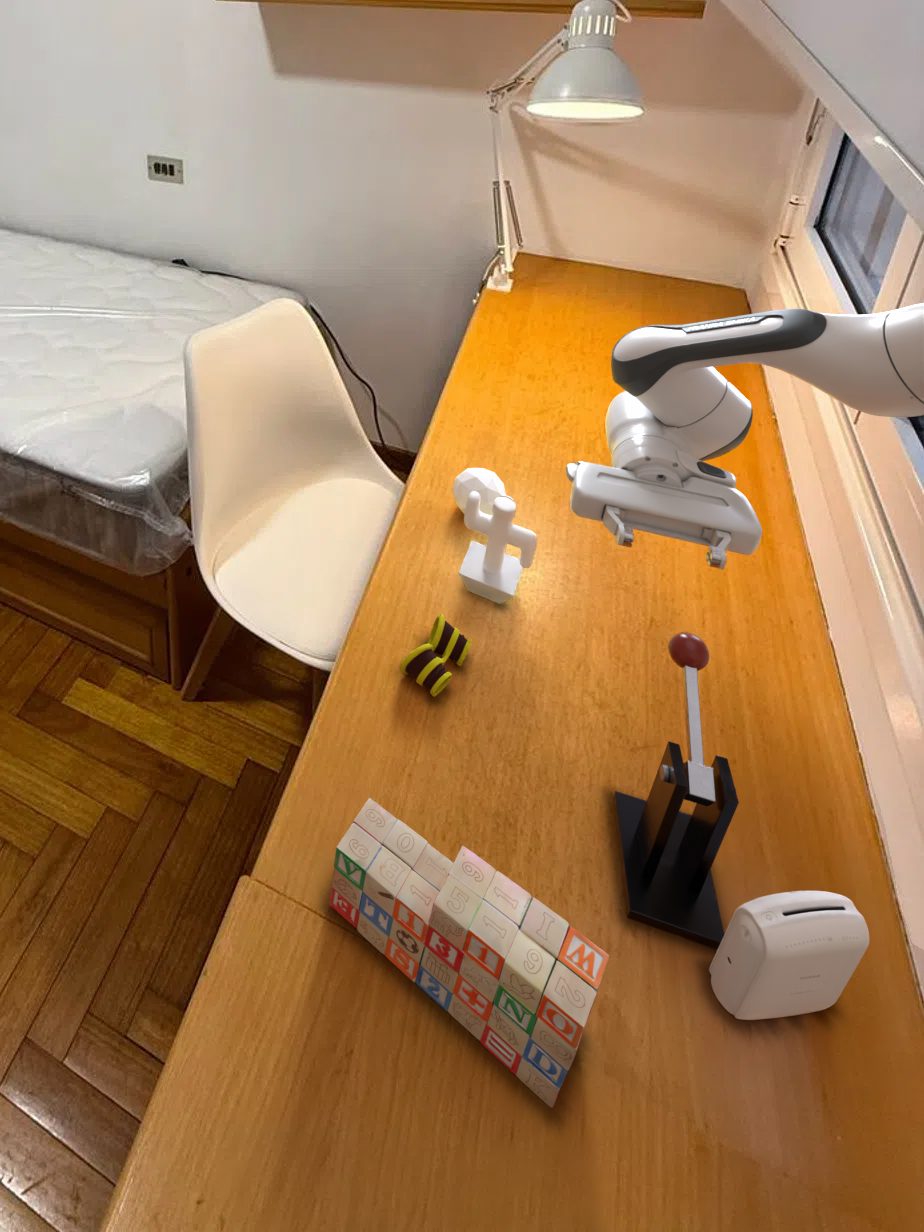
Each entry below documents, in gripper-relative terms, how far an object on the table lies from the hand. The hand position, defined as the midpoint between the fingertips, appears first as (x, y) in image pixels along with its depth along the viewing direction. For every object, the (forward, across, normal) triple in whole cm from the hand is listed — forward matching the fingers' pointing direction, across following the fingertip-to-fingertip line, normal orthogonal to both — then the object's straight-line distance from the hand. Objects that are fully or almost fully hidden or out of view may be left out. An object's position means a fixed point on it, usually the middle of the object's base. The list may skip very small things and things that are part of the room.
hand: (671, 552), depth 96 cm
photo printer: (+31, +7, +20) cm, 38 cm away
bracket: (+23, 0, +20) cm, 31 cm away
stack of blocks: (+40, -20, +20) cm, 49 cm away
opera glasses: (+7, -23, +20) cm, 31 cm away
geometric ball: (-24, -19, +20) cm, 36 cm away
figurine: (-9, -17, +20) cm, 28 cm away
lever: (+17, 0, +6) cm, 18 cm away
